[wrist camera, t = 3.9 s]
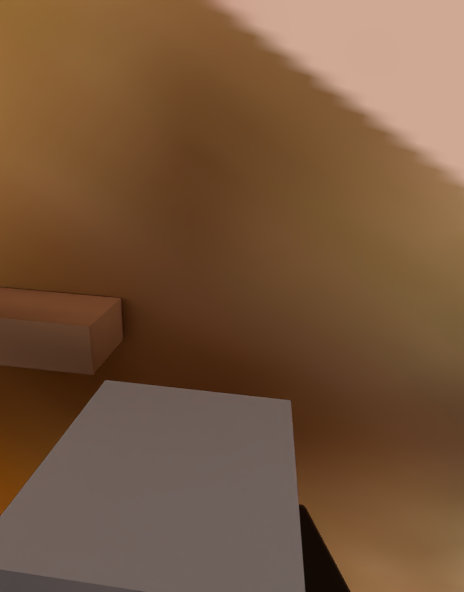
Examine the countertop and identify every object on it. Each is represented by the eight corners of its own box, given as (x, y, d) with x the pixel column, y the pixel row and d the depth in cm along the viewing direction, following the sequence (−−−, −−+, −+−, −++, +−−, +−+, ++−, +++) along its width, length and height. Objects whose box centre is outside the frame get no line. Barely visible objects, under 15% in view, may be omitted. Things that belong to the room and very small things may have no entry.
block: (272, 538, 9) (272, 796, 5) (114, 516, 10) (10, 745, 6) (290, 400, 8) (306, 616, 4) (105, 379, 8) (-36, 563, 4)
